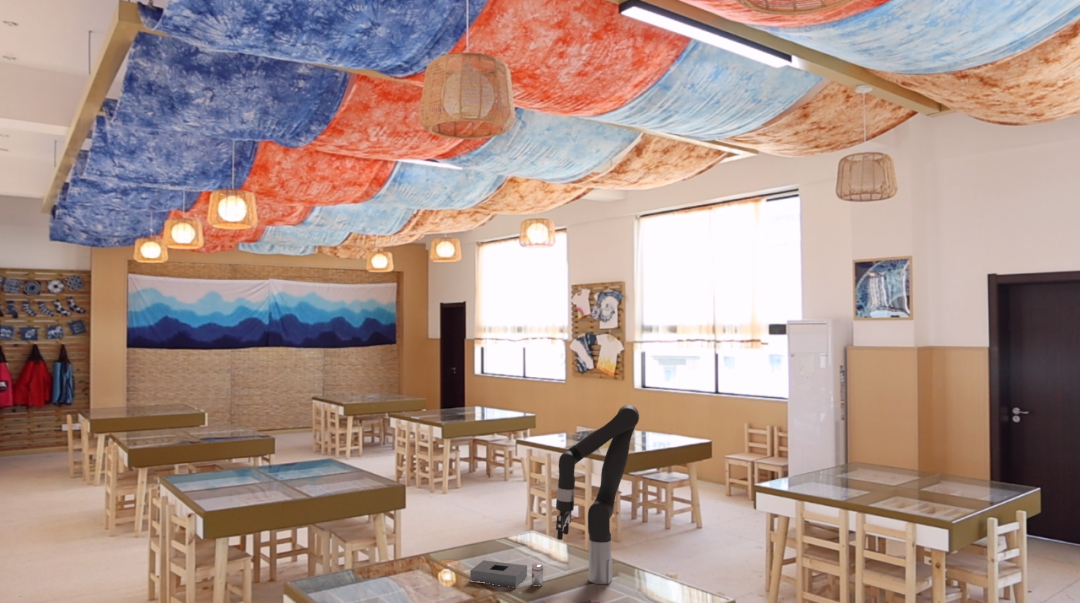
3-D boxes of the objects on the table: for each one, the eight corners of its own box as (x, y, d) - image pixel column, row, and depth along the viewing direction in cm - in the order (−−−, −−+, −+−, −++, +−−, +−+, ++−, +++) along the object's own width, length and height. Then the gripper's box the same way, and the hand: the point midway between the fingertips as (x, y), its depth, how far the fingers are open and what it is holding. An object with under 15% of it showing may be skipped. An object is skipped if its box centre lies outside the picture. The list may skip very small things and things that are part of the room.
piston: (544, 583, 310) (544, 564, 310) (541, 587, 305) (541, 567, 305) (533, 582, 311) (534, 562, 311) (530, 586, 307) (530, 566, 307)
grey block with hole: (526, 577, 317) (527, 565, 317) (515, 588, 304) (515, 575, 304) (483, 571, 323) (483, 560, 323) (470, 582, 310) (470, 570, 310)
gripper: (569, 503, 309) (566, 542, 309) (578, 496, 322) (575, 533, 322) (552, 501, 311) (549, 539, 311) (561, 493, 325) (559, 530, 325)
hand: (562, 536), depth 317 cm, fingers open, 8 cm apart
